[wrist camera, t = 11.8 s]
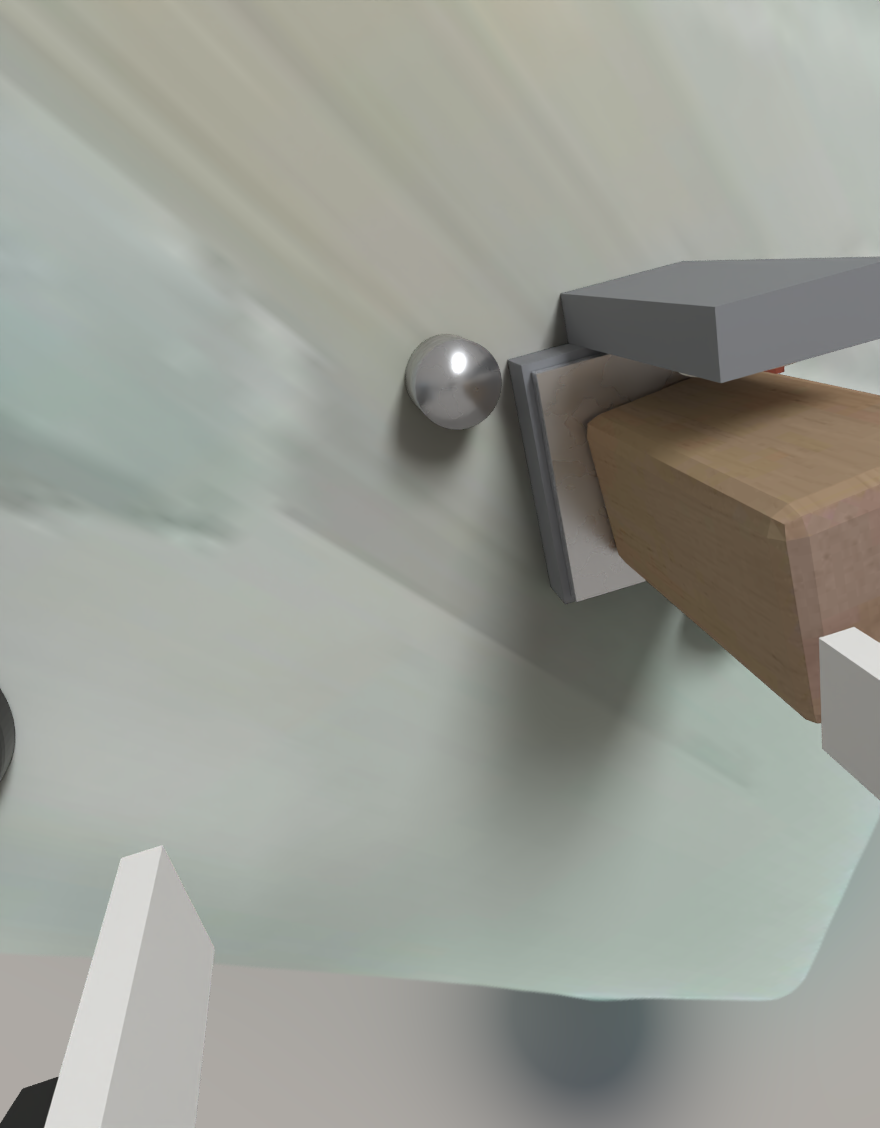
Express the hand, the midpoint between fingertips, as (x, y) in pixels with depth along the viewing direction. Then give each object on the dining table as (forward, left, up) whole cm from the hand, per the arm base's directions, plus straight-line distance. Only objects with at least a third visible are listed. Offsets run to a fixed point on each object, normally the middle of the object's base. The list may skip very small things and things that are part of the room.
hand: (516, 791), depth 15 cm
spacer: (+6, +2, -35) cm, 35 cm away
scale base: (+18, -4, -35) cm, 39 cm away
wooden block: (+18, -6, -31) cm, 36 cm away
